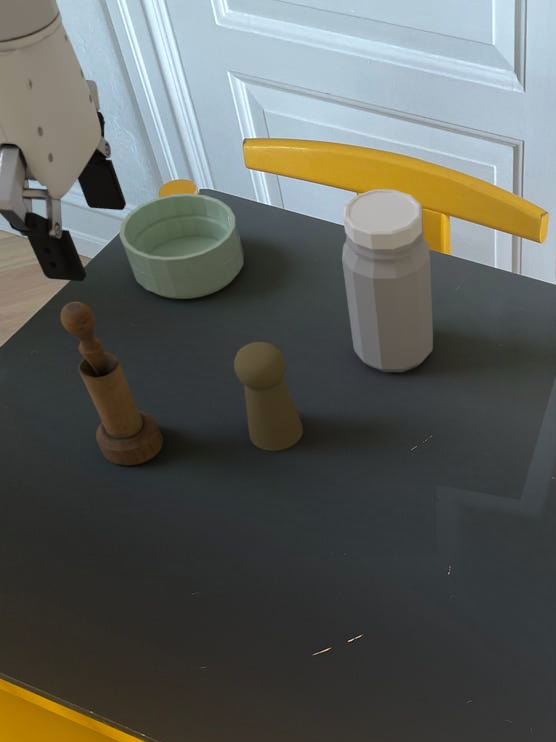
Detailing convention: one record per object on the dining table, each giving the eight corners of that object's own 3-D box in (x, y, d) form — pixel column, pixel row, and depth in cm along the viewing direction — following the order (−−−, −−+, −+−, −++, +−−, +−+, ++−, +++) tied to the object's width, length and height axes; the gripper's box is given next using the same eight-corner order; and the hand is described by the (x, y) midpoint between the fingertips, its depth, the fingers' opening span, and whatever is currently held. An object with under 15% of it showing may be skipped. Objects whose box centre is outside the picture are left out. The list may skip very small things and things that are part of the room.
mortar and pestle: (170, 427, 100) (118, 287, 85) (153, 468, 97) (95, 331, 82) (113, 422, 101) (50, 282, 86) (94, 464, 97) (25, 325, 82)
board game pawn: (305, 412, 102) (288, 332, 93) (300, 450, 99) (283, 371, 89) (252, 413, 102) (230, 333, 93) (246, 451, 98) (223, 372, 89)
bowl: (117, 295, 113) (101, 252, 108) (158, 231, 121) (145, 188, 116) (224, 308, 112) (212, 265, 107) (258, 242, 120) (249, 200, 115)
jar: (422, 383, 105) (414, 243, 90) (343, 370, 106) (322, 229, 91) (443, 331, 110) (439, 191, 95) (367, 319, 111) (352, 178, 96)
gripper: (-8, -56, 63) (80, 179, 77) (-123, 60, 54) (2, 304, 68) (94, -50, 63) (164, 185, 77) (-3, 68, 53) (97, 311, 68)
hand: (88, 241), depth 73 cm, fingers open, 9 cm apart
